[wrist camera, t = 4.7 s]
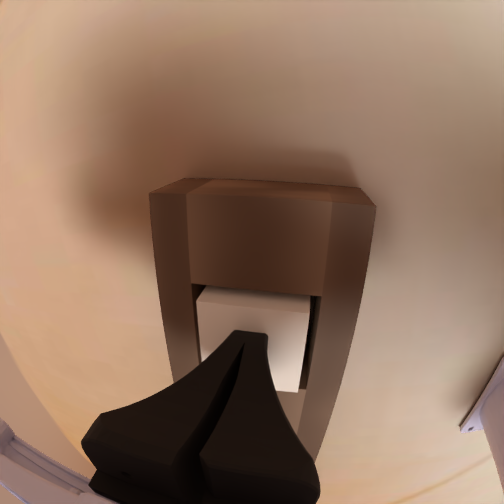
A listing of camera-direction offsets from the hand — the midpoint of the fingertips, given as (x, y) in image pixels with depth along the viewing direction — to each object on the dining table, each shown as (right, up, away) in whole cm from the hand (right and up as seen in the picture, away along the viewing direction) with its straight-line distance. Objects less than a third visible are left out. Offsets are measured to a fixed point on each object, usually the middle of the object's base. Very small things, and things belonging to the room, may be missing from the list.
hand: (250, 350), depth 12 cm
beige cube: (+1, +1, +3) cm, 4 cm away
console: (+1, -7, +7) cm, 10 cm away
